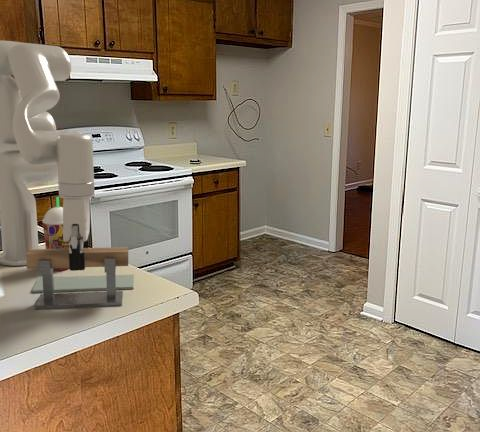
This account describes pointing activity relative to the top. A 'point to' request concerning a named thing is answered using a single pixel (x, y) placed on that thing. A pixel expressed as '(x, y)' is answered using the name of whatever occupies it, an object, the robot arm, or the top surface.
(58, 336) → the top surface
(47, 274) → the stand
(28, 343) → the top surface
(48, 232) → the smoothie
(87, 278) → the mat
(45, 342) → the top surface
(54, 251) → the rail
